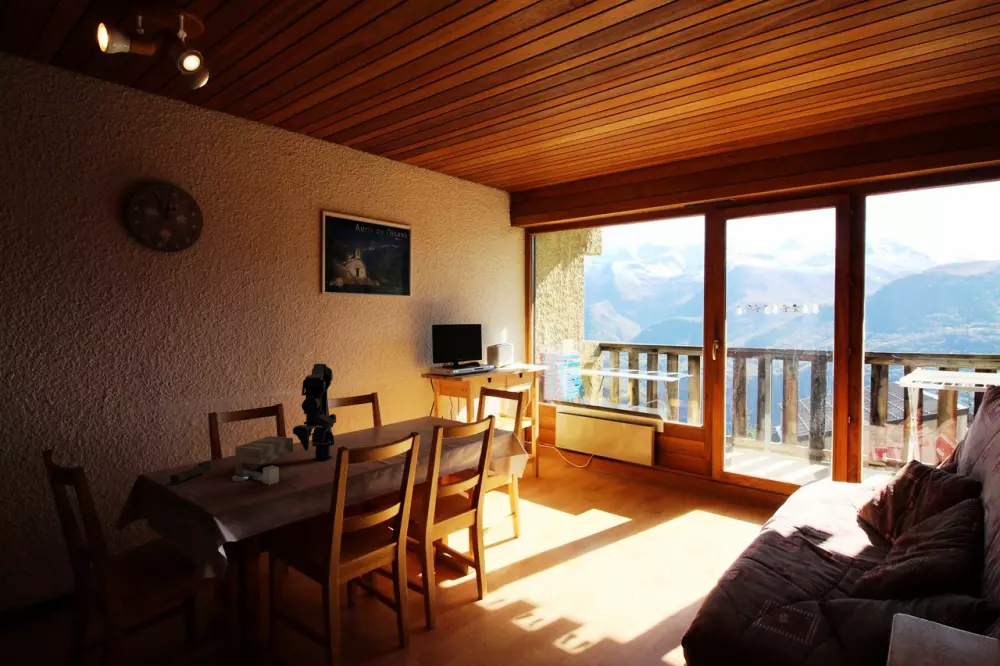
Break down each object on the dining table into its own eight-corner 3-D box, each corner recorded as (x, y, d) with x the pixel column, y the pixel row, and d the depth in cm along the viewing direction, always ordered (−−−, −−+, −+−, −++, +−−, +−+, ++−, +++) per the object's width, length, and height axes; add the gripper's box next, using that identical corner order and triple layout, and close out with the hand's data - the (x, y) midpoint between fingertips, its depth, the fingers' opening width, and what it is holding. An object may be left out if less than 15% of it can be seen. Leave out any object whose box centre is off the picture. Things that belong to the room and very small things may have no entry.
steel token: (242, 476, 214) (242, 473, 214) (252, 479, 211) (252, 475, 211) (228, 481, 209) (228, 477, 209) (239, 483, 206) (239, 479, 206)
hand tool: (178, 485, 202) (178, 473, 202) (169, 484, 203) (169, 472, 203) (216, 471, 221) (216, 460, 220) (208, 470, 222) (208, 459, 222)
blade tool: (249, 473, 217) (249, 459, 217) (278, 482, 207) (278, 467, 207) (239, 476, 214) (239, 461, 213) (269, 485, 204) (269, 469, 203)
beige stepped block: (269, 460, 236) (269, 435, 235) (293, 463, 232) (293, 438, 232) (235, 474, 216) (235, 447, 216) (260, 477, 213) (260, 449, 213)
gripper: (317, 414, 201) (317, 455, 202) (344, 405, 219) (344, 443, 220) (291, 412, 204) (291, 452, 205) (320, 404, 222) (320, 441, 223)
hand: (313, 447), depth 213 cm, fingers open, 9 cm apart
